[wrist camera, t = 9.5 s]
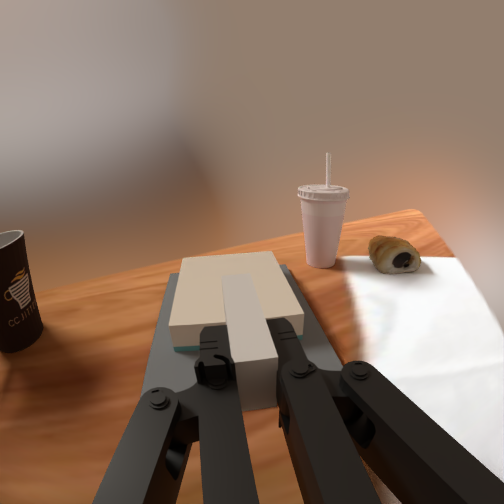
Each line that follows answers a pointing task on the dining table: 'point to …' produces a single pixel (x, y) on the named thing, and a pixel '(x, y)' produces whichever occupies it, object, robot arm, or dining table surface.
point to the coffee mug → (16, 296)
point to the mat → (182, 363)
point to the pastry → (393, 255)
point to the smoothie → (322, 219)
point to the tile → (211, 294)
